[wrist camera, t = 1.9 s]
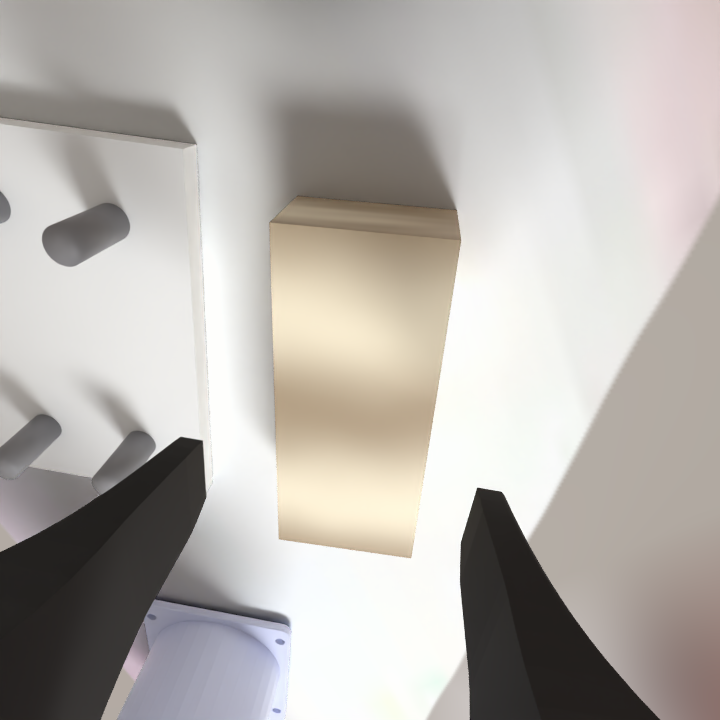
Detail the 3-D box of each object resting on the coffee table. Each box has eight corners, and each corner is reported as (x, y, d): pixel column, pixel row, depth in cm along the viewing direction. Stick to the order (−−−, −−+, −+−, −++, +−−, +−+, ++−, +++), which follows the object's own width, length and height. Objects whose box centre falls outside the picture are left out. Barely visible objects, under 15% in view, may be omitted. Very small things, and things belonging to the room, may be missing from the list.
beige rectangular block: (414, 491, 22) (411, 558, 19) (299, 476, 23) (278, 539, 20) (456, 207, 16) (461, 240, 13) (299, 193, 17) (269, 222, 14)
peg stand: (212, 481, 23) (179, 544, 20) (19, 447, 24) (-42, 504, 21) (196, 144, 16) (140, 163, 13) (-78, 106, 17) (-194, 116, 14)
